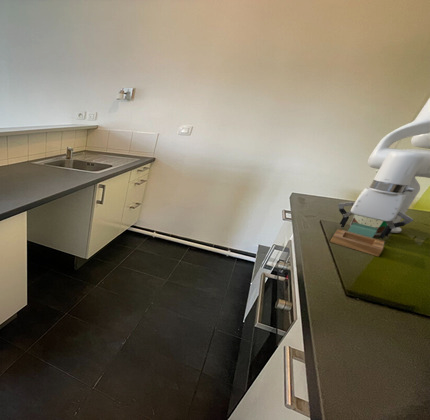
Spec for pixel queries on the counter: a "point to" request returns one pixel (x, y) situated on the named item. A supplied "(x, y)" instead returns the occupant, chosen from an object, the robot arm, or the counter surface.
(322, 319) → the counter surface
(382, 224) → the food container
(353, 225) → the green pad
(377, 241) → the recessed wooden tray
